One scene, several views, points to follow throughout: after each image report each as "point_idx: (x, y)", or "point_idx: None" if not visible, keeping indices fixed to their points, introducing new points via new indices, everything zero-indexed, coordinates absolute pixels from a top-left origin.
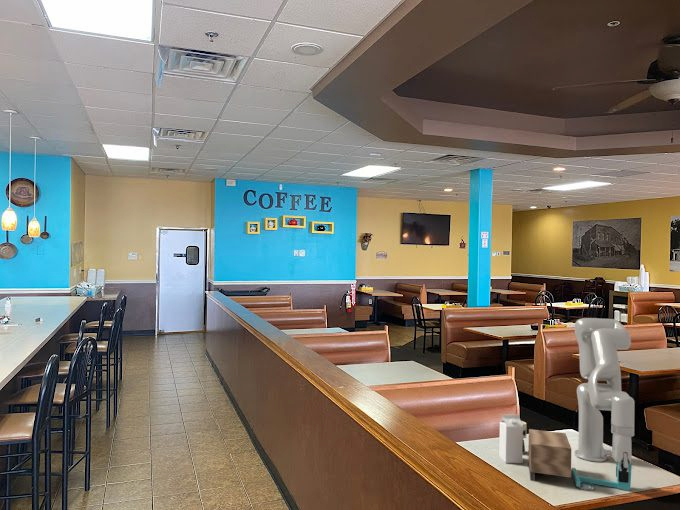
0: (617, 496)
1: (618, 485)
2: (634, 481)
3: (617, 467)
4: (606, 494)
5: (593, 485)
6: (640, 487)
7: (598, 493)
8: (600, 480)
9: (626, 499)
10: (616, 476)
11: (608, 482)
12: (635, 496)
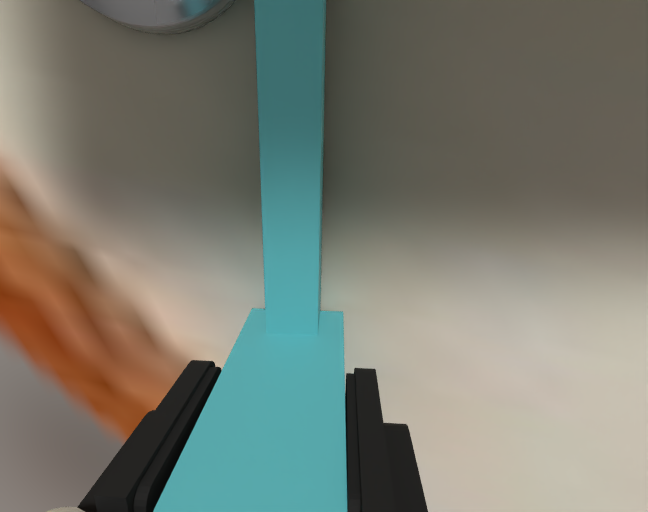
0: (40, 256)
1: (244, 329)
2: (540, 499)
3: None
4: (31, 148)
5: (161, 6)
6: None
7: (7, 53)
8: (271, 124)
9: (10, 322)
10: (355, 373)
11: (264, 229)
12: (136, 414)
